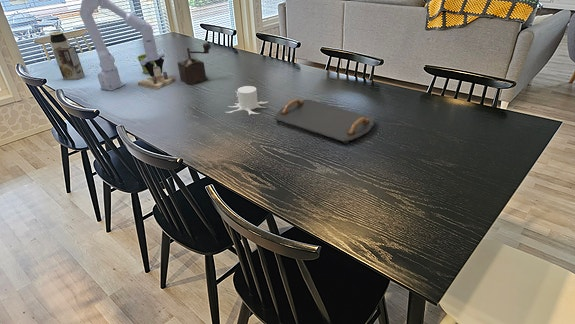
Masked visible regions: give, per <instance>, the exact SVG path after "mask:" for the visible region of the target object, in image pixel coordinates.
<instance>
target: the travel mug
mask: <svg viewBox="0 0 575 324" xmlns="http://www.w3.org/2000/svg"><path fill="white" fill-rule="evenodd" d="M48 35H49V36H50V42H51V45H52V48H53V50H54V49H56V48H58V47H66V46H69V43H68V41H67V37H66V36H65V34H64V31H62V30H58V31H57V30H56V31H51V32H49V33H48Z"/></svg>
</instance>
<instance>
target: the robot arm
mask: <svg viewBox="0 0 575 324" xmlns="http://www.w3.org/2000/svg"><path fill="white" fill-rule="evenodd" d="M98 8H99V9H108V11H111V12H112V13H113V14H115V15H117V16H118V17H120V18H121V19H123V21H124V23H125V24H126V25H127V26H129V27H130V28H132V29H134V30H135V31H137V32H140V34H141V37H142V44H143V49H144V52H145V53H144V54H146V58H145V59H143V60H141V61H139V63H140V62H141V64H140V66H141V65H143V66H144V67H145V68H146V69H147V71H148V72H149V73H148V74H149V76H150V77H152V76H154V71H153V65H154V64H151V63H150V62H152V61H154V62H155V66H159V67H160V70H161V74H163V66H164V63H165V59H164V58H165V57H166V56H165V53H162V52H160V53H158V50H157V49H158V48H157V44H156V39H155V35H154V29H153V27H152V24H150V23H149V22H147V20H145V19H142V18H141V17H139V16H138V15H137V13H135V12H127V11H125V10H124V9H123V8H121V7H120V6H118V5H116V4H115V3H114V2H112V1H111V0H81V4H80V8H79V9H80V10H79V17H80V18H81V21H82V22H83V24H84V27H85V29H86V31H87V34H88V35H89V38H90V40H91V42H92V44H93V46H94V49H95V50H96V54H97V57H98V60H99V67H100V68H101V69H100V70H101V71H100V72H99V73H98V74H97V79H98V82H99V85H100V87H99V89H100V90H106V91H110V92H111V91H114V90H117V89H119V88H121V87H123V86H126V83H124V82H122V80H121V77H120V73H119V69H118V67H117V66H116V64H115V61H116V60H115V57H114V56H113V55H112V54H111V53H110V50H109V49H108V48H107V44H106V43H105V41H104V39H103V37H102V34H101V32H100V30H99V28H98V25H97V23H96V21H95V19H94V15H93V14H94V12H95V11H96V9H98Z"/></svg>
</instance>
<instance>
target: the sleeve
mask: <svg viewBox="0 0 575 324" xmlns="http://www.w3.org/2000/svg"><path fill="white" fill-rule="evenodd" d="M153 71H154V76H156V79H159V78H162V76H163V73H161V70H160V67H159V66H156V65H155V67H153Z"/></svg>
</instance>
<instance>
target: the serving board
mask: <svg viewBox="0 0 575 324" xmlns="http://www.w3.org/2000/svg"><path fill="white" fill-rule="evenodd" d="M274 120H275V121H276V123H278V124H279V123H285V124H288V125H291V126H295V127H296V128H300V129H304V130H306V131H310V132H313V133H315V134H319V135H322V136H325V137H328V138H331V139H335V140H338V141H340V142H342V144H343V145H349V144H350V143H349V141H353V140H355V139H358V138H360V137H362V136H363V135H365V134H367V133H369V131H371V129H372V128H373V127H374V125H375V117H373V116H371V115H367V114H363V113H359V112H356V111H354V110H353V111H352V110H348V109H345V108H342V107H338V106H334V105H330V104H328V103H323V102H319V101H315V100H312V99H303V100H300V99H298V98H294V99H292V100H291V101H288V103H286V104H285V106H284V107H282V108H281V109H280V110H279V111H277V112H276V115H275V116H274Z"/></svg>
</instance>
